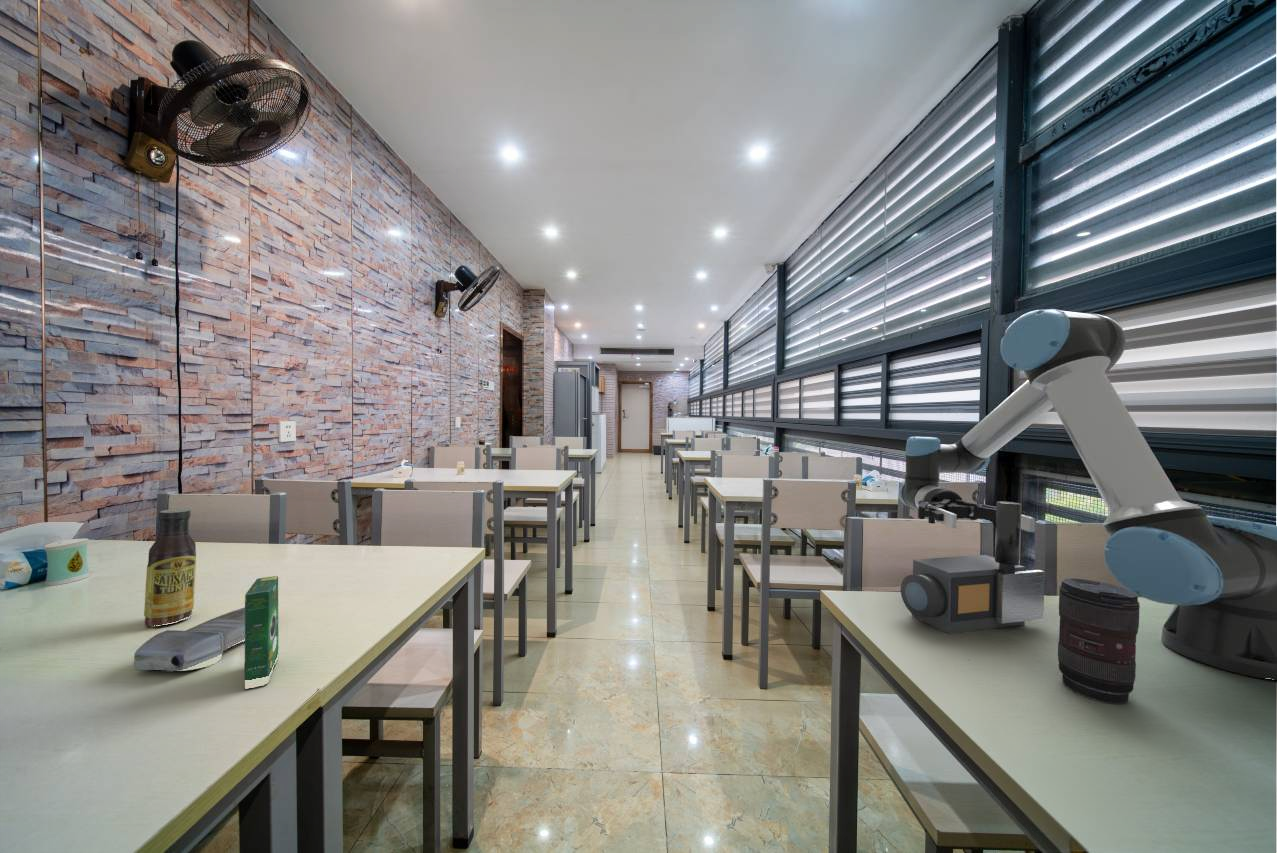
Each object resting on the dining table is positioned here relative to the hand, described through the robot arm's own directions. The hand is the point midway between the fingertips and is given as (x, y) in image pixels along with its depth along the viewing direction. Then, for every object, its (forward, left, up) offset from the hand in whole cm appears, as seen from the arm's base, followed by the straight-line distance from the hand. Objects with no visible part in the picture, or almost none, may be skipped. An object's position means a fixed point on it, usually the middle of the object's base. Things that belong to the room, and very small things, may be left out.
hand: (992, 523), depth 89 cm
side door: (-4, -2, -17) cm, 18 cm away
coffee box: (+7, +125, -19) cm, 126 cm away
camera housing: (+1, +6, -19) cm, 20 cm away
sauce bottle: (+30, +150, -19) cm, 154 cm away
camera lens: (-22, +9, -19) cm, 30 cm away
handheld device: (+18, +136, -19) cm, 138 cm away
